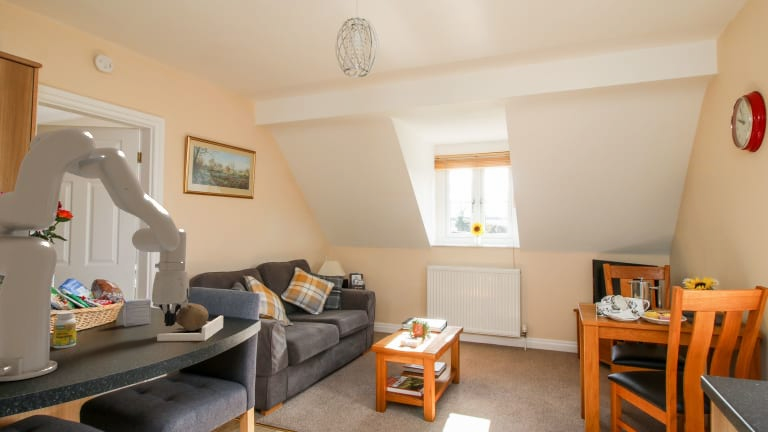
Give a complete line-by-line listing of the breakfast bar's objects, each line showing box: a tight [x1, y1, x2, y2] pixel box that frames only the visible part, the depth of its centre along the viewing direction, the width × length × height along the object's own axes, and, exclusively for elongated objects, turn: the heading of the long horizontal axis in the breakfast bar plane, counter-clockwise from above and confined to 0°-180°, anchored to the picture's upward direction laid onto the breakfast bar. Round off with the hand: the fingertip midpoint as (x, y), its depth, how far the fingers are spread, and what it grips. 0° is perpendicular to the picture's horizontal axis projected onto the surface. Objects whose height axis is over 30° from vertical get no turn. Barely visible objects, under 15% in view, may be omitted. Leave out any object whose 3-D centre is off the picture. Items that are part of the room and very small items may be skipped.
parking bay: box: [156, 315, 224, 342], centre depth 143 cm, size 18×14×4 cm
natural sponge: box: [175, 302, 209, 332], centre depth 146 cm, size 9×9×10 cm
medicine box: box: [122, 297, 152, 328], centre depth 156 cm, size 8×4×9 cm, turn 130°
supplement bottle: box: [52, 310, 77, 349], centre depth 127 cm, size 5×5×10 cm
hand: (170, 325), depth 141 cm, fingers closed
